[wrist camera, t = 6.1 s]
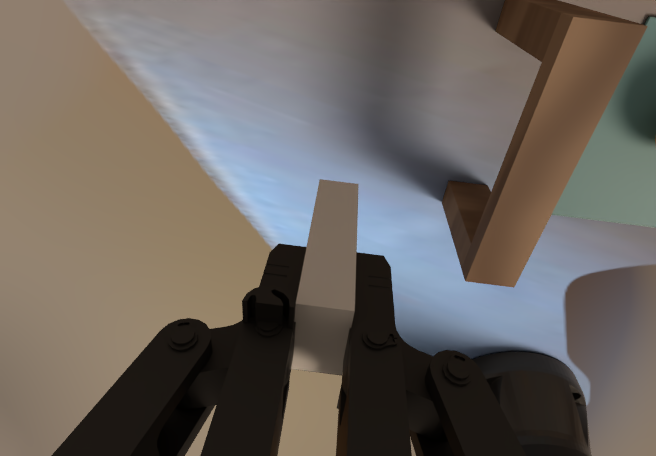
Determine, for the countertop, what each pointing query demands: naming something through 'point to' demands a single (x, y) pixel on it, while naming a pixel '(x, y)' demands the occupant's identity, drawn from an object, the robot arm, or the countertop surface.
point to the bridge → (540, 133)
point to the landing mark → (621, 150)
